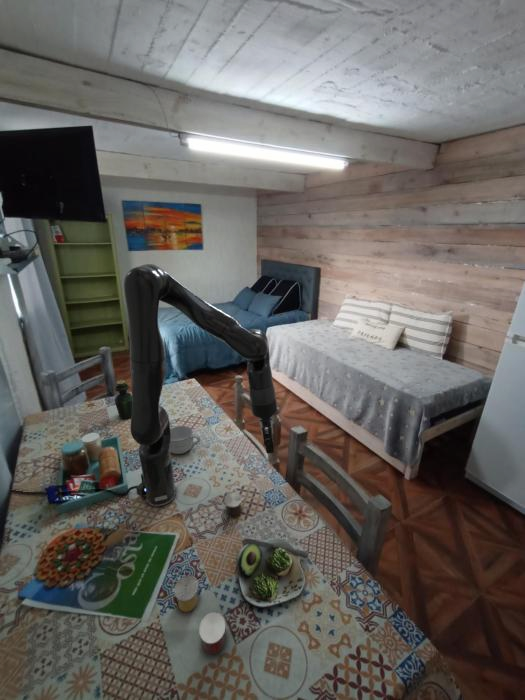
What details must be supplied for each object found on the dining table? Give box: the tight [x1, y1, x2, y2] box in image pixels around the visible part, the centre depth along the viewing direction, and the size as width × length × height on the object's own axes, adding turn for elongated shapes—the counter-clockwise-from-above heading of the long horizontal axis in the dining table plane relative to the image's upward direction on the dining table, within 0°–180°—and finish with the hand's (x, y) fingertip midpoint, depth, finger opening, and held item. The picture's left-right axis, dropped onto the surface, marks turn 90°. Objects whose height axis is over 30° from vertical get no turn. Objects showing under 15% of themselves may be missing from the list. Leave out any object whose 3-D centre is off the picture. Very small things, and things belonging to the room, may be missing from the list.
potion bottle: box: [114, 379, 132, 420], centre depth 147 cm, size 8×8×18 cm
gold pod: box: [173, 574, 199, 613], centre depth 75 cm, size 6×6×5 cm
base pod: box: [223, 492, 243, 518], centre depth 99 cm, size 6×6×5 cm
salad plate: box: [235, 537, 309, 609], centre depth 82 cm, size 19×18×5 cm
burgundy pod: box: [198, 611, 227, 655], centre depth 68 cm, size 6×6×5 cm
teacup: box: [170, 425, 201, 455], centre depth 126 cm, size 14×11×8 cm
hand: (269, 443), depth 97 cm, fingers open, 8 cm apart
